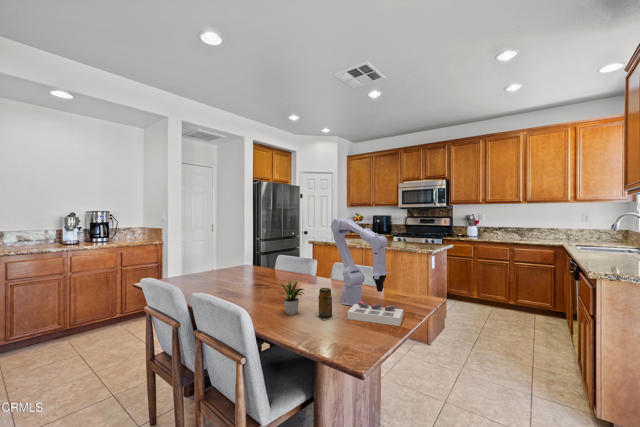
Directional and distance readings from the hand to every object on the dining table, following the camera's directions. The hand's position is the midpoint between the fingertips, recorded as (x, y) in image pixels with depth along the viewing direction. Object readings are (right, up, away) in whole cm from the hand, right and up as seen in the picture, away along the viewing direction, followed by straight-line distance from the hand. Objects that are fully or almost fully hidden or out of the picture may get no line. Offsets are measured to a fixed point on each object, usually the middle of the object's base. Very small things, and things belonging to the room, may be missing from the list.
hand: (379, 291), depth 133 cm
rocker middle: (-3, -5, -6) cm, 8 cm away
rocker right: (+3, -5, -8) cm, 10 cm away
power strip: (-3, -9, -6) cm, 11 cm away
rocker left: (-8, -6, -3) cm, 10 cm away
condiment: (-25, -10, -5) cm, 27 cm away
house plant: (-42, -10, -1) cm, 43 cm away
